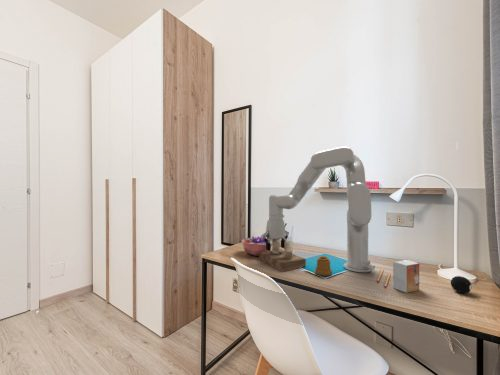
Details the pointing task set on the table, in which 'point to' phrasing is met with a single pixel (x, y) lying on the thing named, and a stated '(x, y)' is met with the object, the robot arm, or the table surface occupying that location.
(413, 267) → the small box
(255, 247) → the cell model
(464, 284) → the billiard ball
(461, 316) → the table surface
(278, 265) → the brown block with hole
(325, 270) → the ornamental finial
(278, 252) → the birch leg
